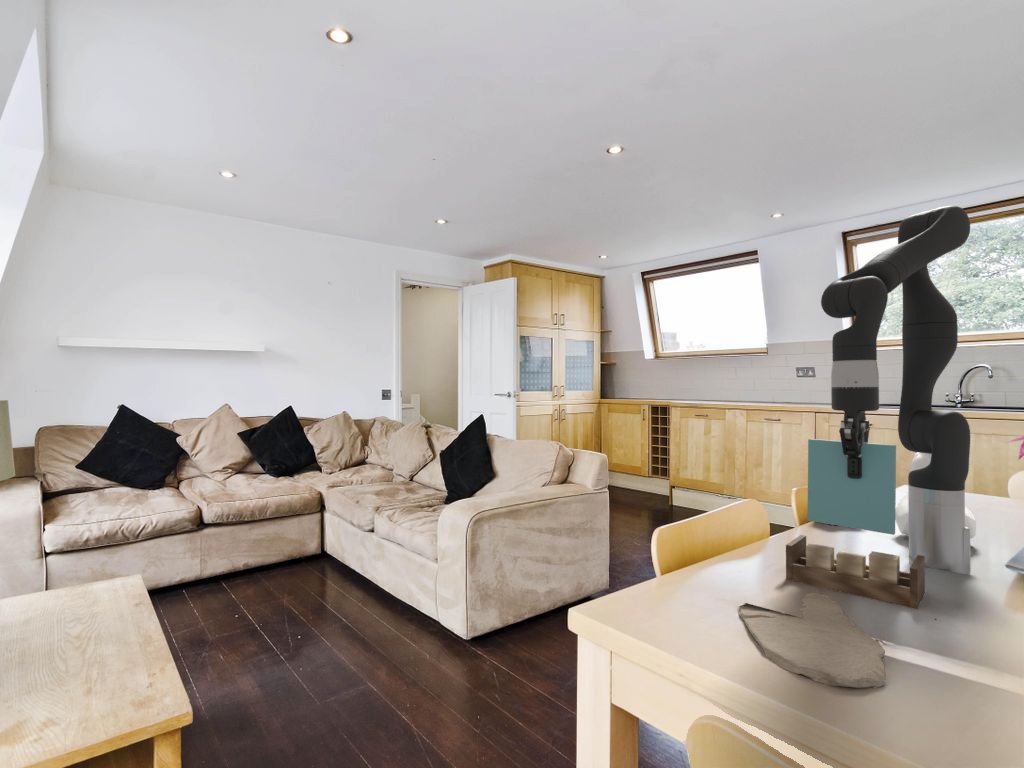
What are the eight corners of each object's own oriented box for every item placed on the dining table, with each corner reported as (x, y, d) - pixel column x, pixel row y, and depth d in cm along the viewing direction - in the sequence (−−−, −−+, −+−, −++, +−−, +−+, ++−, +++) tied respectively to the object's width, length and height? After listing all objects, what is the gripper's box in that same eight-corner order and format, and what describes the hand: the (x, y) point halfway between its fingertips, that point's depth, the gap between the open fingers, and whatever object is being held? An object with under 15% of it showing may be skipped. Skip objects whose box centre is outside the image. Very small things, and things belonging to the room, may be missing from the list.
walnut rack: (925, 601, 94) (924, 555, 94) (917, 618, 87) (917, 569, 87) (801, 574, 108) (801, 534, 108) (785, 587, 101) (785, 545, 101)
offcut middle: (865, 588, 96) (865, 555, 96) (862, 593, 94) (862, 559, 94) (840, 583, 99) (840, 550, 99) (836, 587, 97) (836, 554, 97)
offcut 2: (899, 596, 93) (899, 555, 93) (897, 601, 91) (896, 559, 91) (872, 590, 95) (872, 551, 96) (869, 594, 93) (868, 554, 93)
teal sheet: (895, 533, 96) (896, 444, 96) (894, 534, 95) (895, 445, 95) (809, 519, 106) (810, 438, 106) (807, 520, 105) (808, 439, 105)
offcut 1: (834, 581, 100) (834, 547, 100) (830, 586, 97) (830, 550, 98) (810, 576, 102) (810, 542, 102) (806, 580, 100) (805, 546, 100)
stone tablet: (829, 605, 94) (829, 591, 94) (918, 701, 64) (917, 681, 65) (729, 598, 97) (729, 584, 97) (770, 685, 68) (770, 666, 68)
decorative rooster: (975, 556, 120) (974, 446, 121) (890, 542, 131) (889, 441, 131) (977, 534, 139) (976, 438, 139) (902, 523, 149) (901, 435, 150)
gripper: (871, 385, 92) (872, 484, 92) (885, 385, 102) (886, 475, 102) (822, 385, 98) (823, 480, 97) (840, 385, 107) (841, 471, 107)
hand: (855, 477), depth 100 cm, fingers closed on teal sheet, 1 cm apart
